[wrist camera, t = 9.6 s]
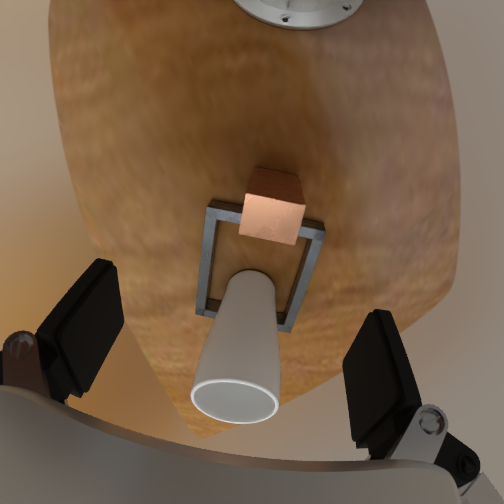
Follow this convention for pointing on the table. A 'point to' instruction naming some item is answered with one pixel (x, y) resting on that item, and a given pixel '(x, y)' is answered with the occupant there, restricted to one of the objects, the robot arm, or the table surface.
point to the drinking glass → (241, 354)
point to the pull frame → (264, 234)
